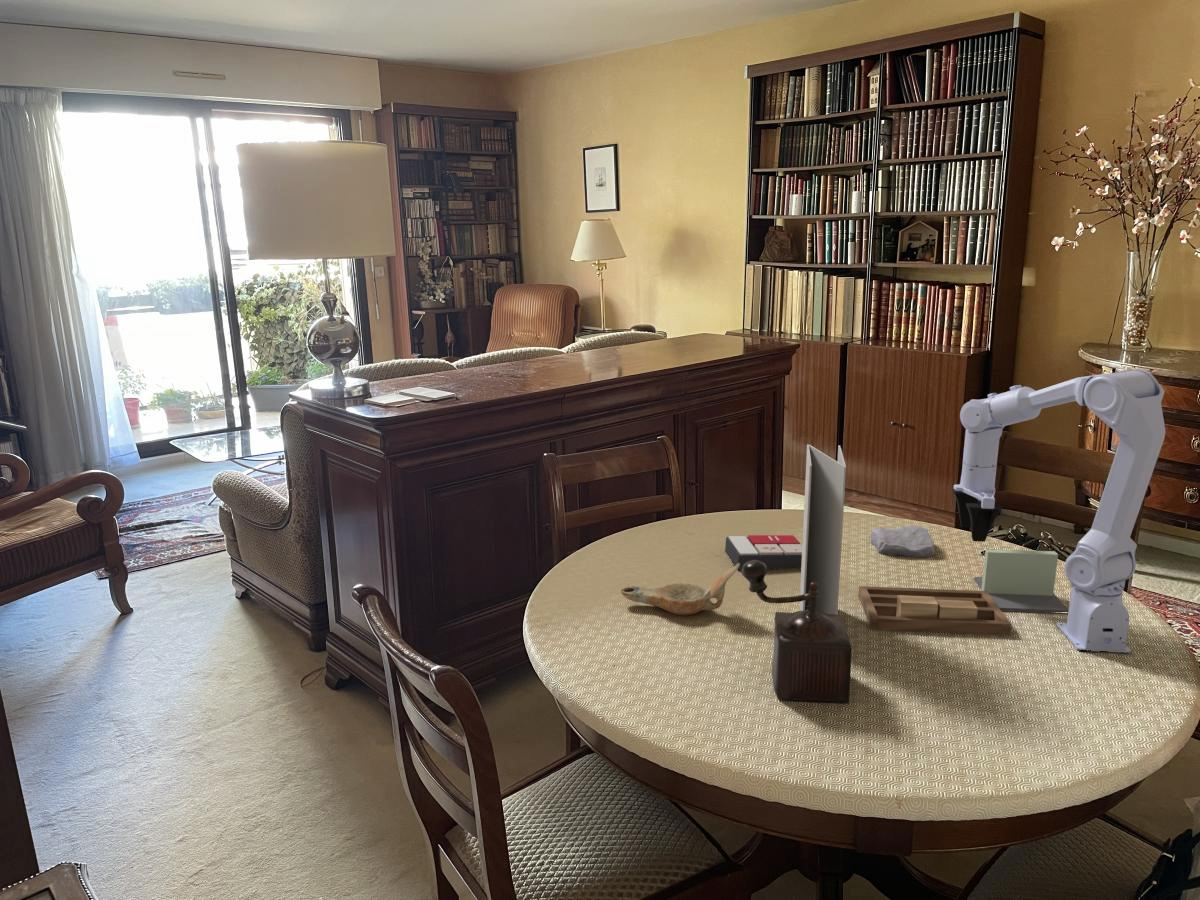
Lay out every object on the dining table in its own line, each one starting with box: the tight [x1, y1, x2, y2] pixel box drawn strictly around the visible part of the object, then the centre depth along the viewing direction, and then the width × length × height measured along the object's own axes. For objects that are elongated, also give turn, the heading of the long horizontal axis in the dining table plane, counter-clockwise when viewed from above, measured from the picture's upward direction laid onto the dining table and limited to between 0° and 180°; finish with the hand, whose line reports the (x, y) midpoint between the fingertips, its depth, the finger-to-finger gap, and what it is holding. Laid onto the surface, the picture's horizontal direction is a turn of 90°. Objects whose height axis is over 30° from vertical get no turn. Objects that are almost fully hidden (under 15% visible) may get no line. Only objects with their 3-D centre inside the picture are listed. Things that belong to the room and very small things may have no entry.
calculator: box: [724, 534, 803, 572], centre depth 176 cm, size 11×4×15 cm
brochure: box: [799, 443, 847, 615], centre depth 144 cm, size 14×6×30 cm, turn 168°
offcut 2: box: [936, 600, 978, 620], centre depth 146 cm, size 3×6×4 cm, turn 82°
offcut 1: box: [896, 595, 938, 618], centre depth 147 cm, size 3×6×4 cm, turn 83°
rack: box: [858, 585, 1012, 636], centre depth 150 cm, size 14×22×2 cm, turn 82°
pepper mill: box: [740, 560, 853, 704], centre depth 126 cm, size 16×11×18 cm
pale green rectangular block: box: [980, 548, 1059, 596], centre depth 156 cm, size 2×12×8 cm, turn 82°
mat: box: [973, 576, 1069, 613], centre depth 157 cm, size 14×12×1 cm
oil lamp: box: [620, 563, 740, 616], centre depth 153 cm, size 9×21×10 cm, turn 74°
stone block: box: [869, 525, 935, 558], centre depth 181 cm, size 12×5×10 cm
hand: (972, 533), depth 160 cm, fingers open, 7 cm apart
